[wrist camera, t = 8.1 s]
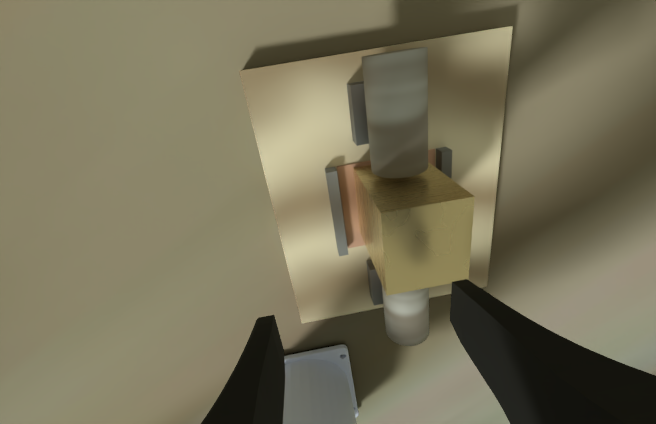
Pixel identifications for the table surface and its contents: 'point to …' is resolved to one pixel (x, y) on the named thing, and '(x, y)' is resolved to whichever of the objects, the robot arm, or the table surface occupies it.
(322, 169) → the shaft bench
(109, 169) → the table surface
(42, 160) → the table surface
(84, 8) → the table surface
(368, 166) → the coupler
